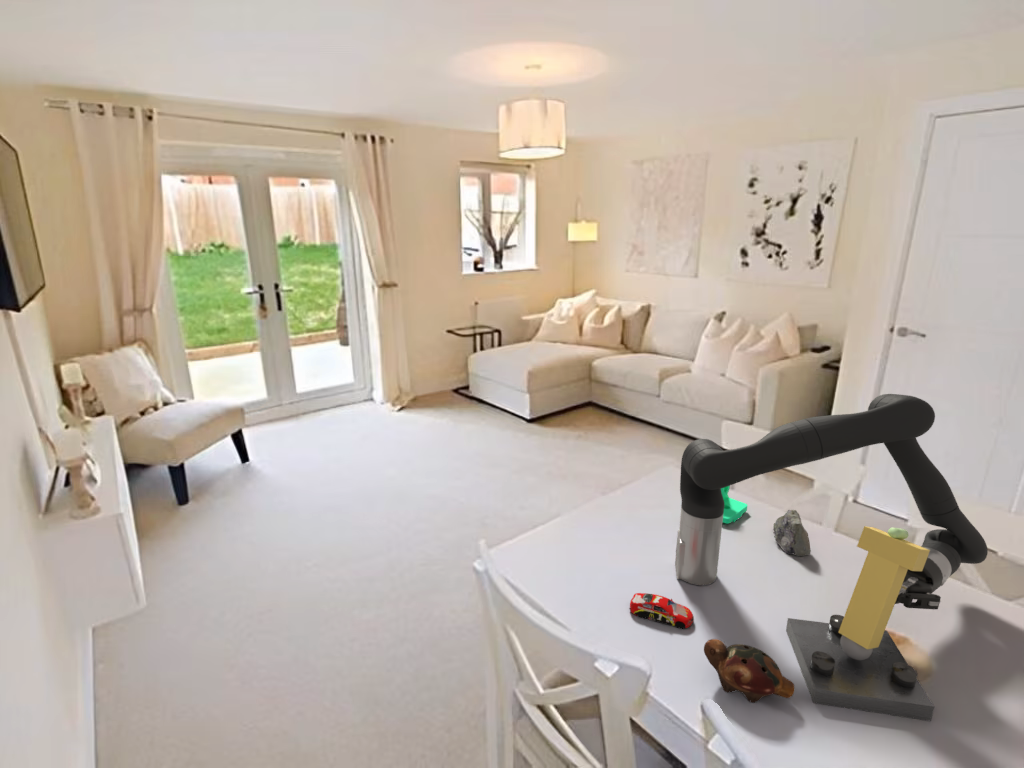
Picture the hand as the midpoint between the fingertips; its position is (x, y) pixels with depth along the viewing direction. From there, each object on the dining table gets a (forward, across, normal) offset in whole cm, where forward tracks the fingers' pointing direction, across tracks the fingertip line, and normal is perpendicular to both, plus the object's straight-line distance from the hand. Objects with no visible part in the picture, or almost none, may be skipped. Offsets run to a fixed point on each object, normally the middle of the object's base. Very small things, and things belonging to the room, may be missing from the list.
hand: (880, 602), depth 101 cm
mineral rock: (-25, -30, +12) cm, 41 cm away
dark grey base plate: (+7, 0, +12) cm, 14 cm away
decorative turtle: (+27, -8, +12) cm, 31 cm away
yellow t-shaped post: (+8, 0, +8) cm, 12 cm away
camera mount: (-23, -49, +12) cm, 55 cm away
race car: (+25, -30, +13) cm, 41 cm away
